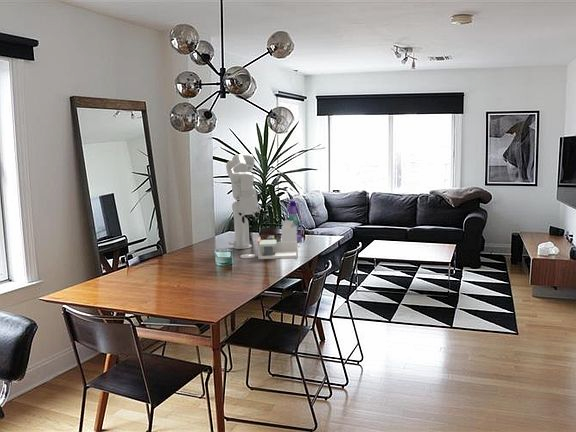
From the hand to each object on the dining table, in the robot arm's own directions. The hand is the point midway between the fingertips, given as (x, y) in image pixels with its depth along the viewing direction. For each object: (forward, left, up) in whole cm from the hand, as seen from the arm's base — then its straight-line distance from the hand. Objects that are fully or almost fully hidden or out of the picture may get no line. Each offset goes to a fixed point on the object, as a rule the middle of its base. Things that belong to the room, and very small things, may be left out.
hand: (248, 222), depth 349 cm
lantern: (+27, +48, -22) cm, 59 cm away
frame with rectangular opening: (+17, 0, -21) cm, 28 cm away
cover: (+11, 0, -14) cm, 18 cm away
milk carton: (+24, +20, -22) cm, 38 cm away
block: (+11, 0, -22) cm, 24 cm away
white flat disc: (-2, 0, -21) cm, 21 cm away
